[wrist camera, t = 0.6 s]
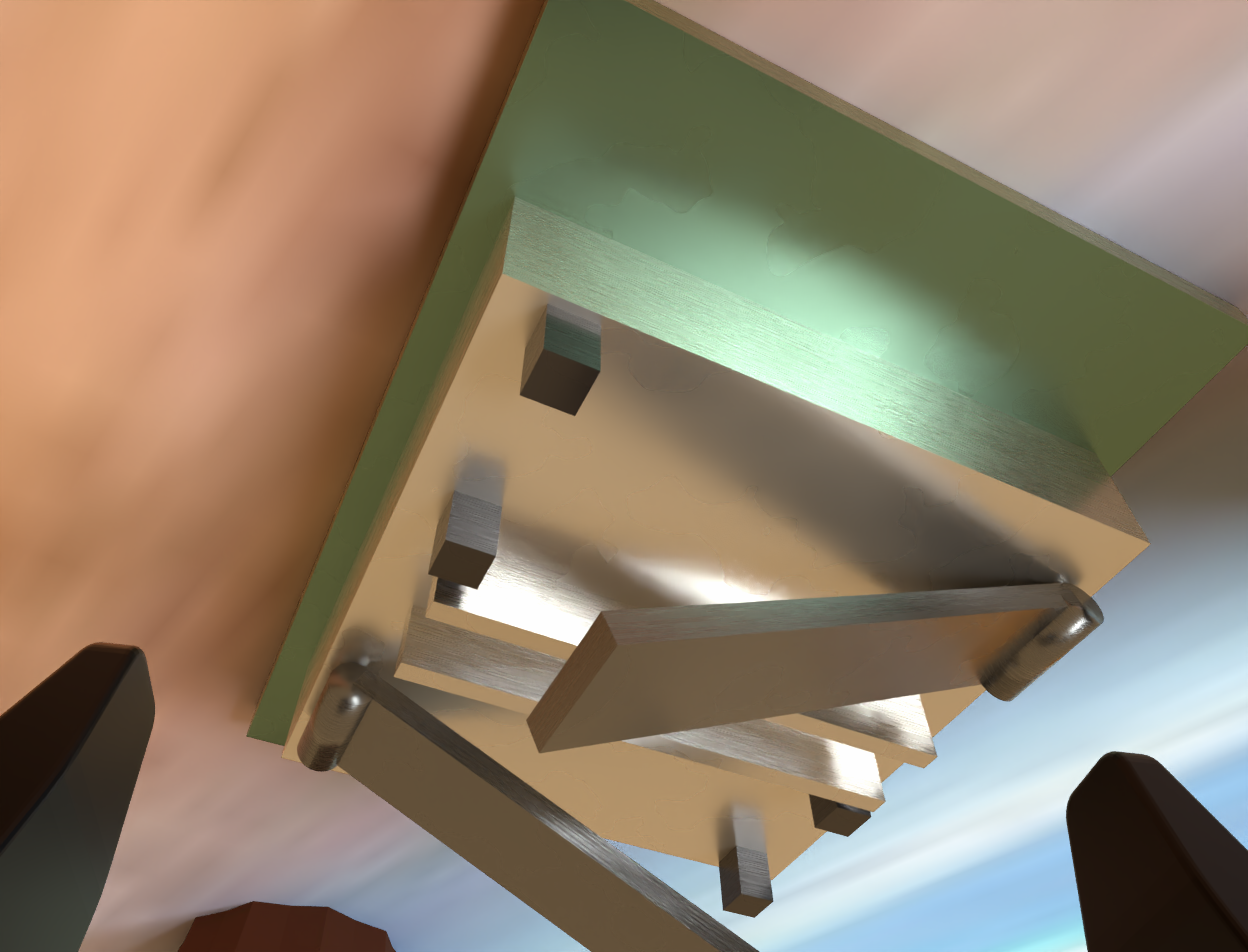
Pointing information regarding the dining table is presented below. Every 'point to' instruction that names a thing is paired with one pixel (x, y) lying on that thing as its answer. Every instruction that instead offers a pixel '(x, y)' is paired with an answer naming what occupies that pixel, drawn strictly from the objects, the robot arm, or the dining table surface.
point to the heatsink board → (797, 248)
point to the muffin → (283, 931)
